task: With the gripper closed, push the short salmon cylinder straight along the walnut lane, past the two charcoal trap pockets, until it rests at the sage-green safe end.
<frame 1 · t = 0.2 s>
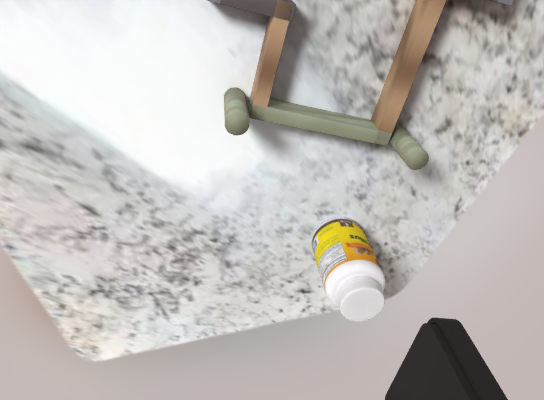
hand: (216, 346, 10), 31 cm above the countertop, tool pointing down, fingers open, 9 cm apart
supplement bottle: (336, 235, 48), on the countertop
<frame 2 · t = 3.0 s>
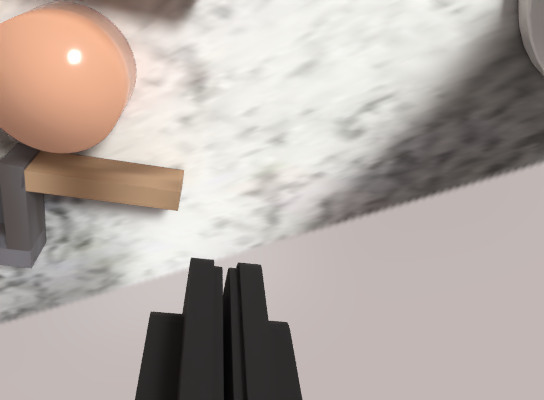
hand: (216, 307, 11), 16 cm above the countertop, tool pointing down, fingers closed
short salmon cylinder: (75, 65, 23), on the countertop
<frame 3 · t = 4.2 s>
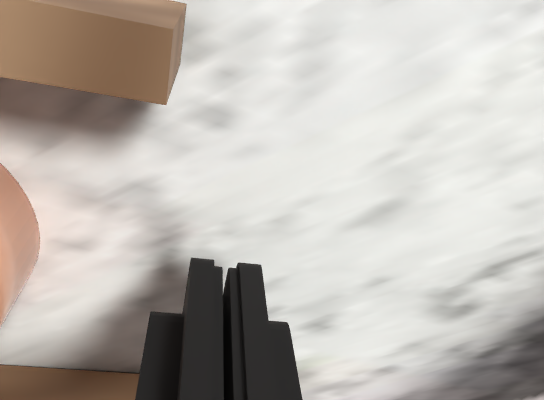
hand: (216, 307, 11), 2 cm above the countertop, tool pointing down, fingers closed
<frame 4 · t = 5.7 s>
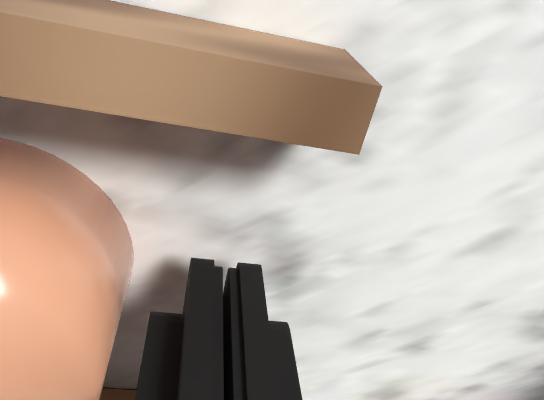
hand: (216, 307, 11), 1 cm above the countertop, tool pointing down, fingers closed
short salmon cylinder: (6, 250, 11), on the countertop, touching gripper
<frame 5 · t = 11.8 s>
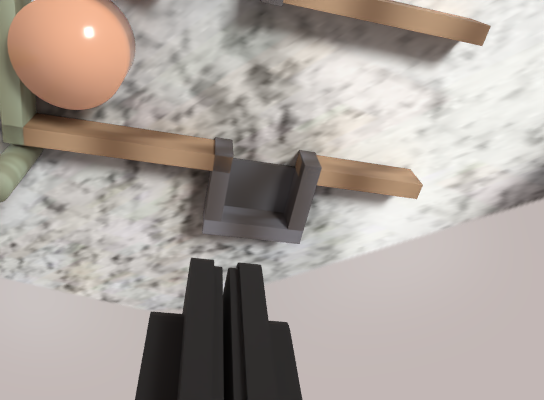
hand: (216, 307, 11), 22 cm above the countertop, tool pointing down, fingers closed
short salmon cylinder: (85, 41, 28), on the countertop
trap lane: (213, 68, 30), on the countertop
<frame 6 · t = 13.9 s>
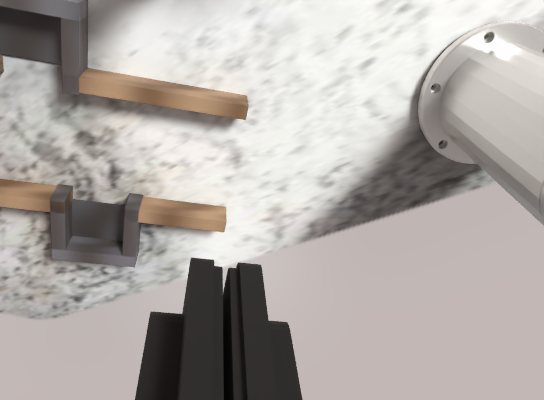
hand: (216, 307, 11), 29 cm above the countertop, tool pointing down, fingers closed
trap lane: (47, 133, 38), on the countertop
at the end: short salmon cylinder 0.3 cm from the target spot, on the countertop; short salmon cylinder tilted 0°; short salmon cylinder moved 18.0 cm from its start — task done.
